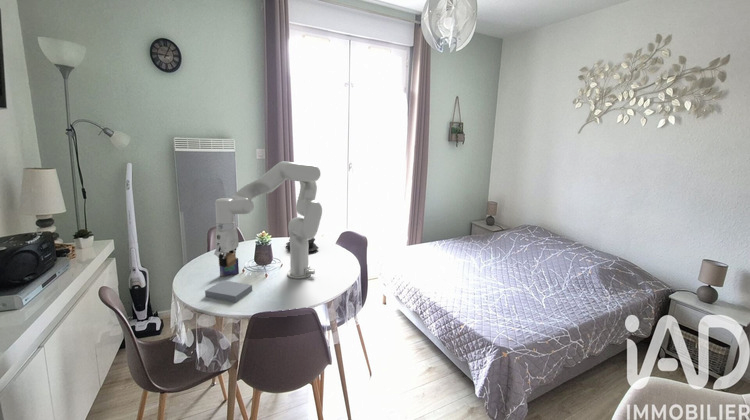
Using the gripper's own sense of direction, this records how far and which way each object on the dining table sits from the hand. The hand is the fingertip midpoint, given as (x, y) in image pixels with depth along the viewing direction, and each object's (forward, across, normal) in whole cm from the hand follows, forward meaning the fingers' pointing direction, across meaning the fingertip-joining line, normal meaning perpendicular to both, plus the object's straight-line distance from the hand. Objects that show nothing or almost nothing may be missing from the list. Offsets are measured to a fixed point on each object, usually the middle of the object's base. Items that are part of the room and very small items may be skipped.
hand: (227, 263), depth 147 cm
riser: (+15, 0, 0) cm, 15 cm away
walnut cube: (+1, 0, 0) cm, 1 cm away
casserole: (+15, +70, -2) cm, 72 cm away
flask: (+15, +18, +14) cm, 27 cm away
